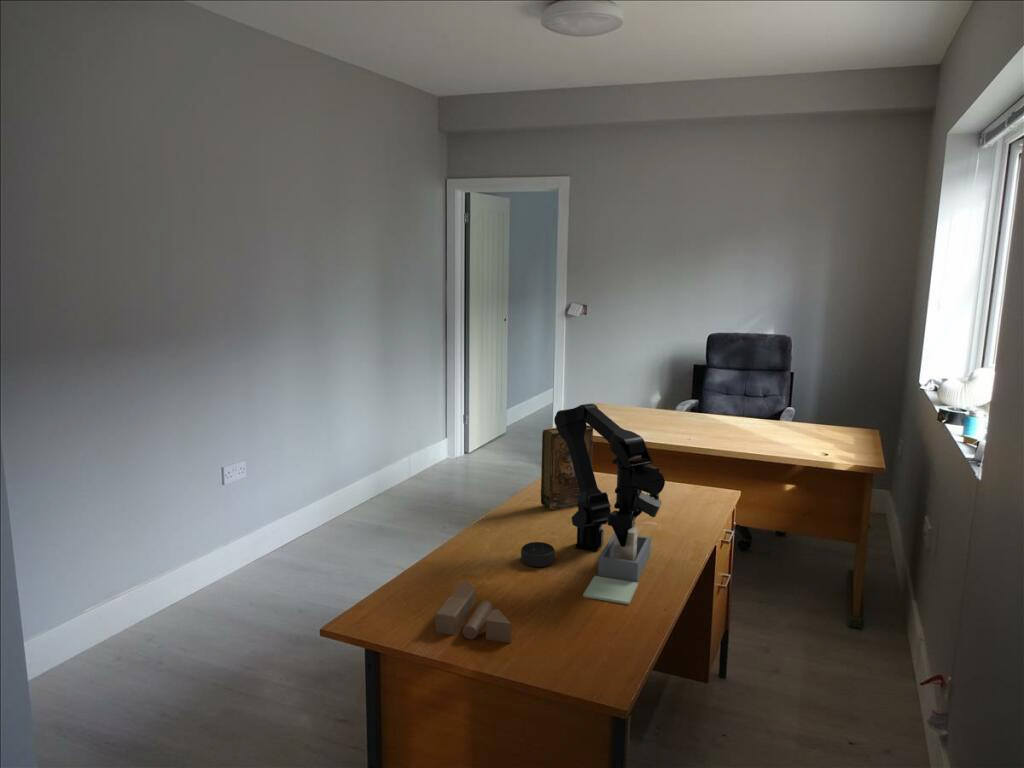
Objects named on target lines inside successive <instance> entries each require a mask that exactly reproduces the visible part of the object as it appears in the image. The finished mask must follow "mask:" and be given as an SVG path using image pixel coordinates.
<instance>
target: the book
mask: <svg viewBox="0 0 1024 768" xmlns="http://www.w3.org/2000/svg"><path fill="white" fill-rule="evenodd" d="M586 425H587V429H586V432H585V436H584V439H585V443H586V447H587V450H588V454H589V458H590V461H591V465H592V466H593V443H594V429H593V428H592V427H591V426H590V425H589V424H586ZM541 433H542V435H541V436H542V439H541V474H540V475H541V478H540V479H541V481H540V504H541V505H542V506H544V507H545V506H546V507H548V508H549V510H550V511H557V510H563V509H570V508H575V507H578V505H577V503H578V499H579V495H580V490H579V486H578V482H577V479H576V475H575V471H574V467H573V464H572V460H571V456H570V452H569V448H568V445H567V442H566V441H565V440H564V439H563V438H562V437H561V436H560V435H559V433H558V430H557V428H556V427H555V428H546V429H543V430H542V432H541Z"/></svg>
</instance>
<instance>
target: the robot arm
mask: <svg viewBox="0 0 1024 768" xmlns="http://www.w3.org/2000/svg"><path fill="white" fill-rule="evenodd" d="M553 419H554V424H555V425H554V426H556V427H555V428H557V430H558V433H559V435H560V436H561V437H562V438H563V439H564V440H565V441H566V442H567V445H568V448H569V452H570V456H571V460H572V464H573V467H574V471H575V475H576V479H577V482H578V486H579V490H580V495H579V499H578V503H577V505H578V506H577V509H578V510H577V511H576V512H575V513H574V514H573V515H571V522H572V523H571V524H572V526H574V527H576V531H577V532H576V544H575V545H574V548H576V549H581V550H587V551H593V552H598V551H599V549H600V548H601V547H602V546H603V545H604V537H605V536H604V534H605V533H604V529H602V527H603V525H607V526H610V527H612V529H613V531H614V532H615V534H616V536H617V539H618V541H619V543H620V545H621V546H622V547H625V545H626V541H627V536H628V532H629V529H631V528H632V527H633V526H635V525H636V520H637V517H638V516H640V515H641V514H642V512H643V513H644V514H646V515H648V516H649V517H652V518H655V517H657V514H658V512H659V510H660V507H661V505H662V500H661V499H660V493H661V492H662V491H663V490H664V488H665V484H666V480H665V477H664V475H663V473H661V472H660V467H658V466H654V465H653V464H654V462H653V460H652V455H651V454H650V452H649V450H648V447H647V445H646V442H645V440H644V438H643V437H642V436H641V435H639V434H638V433H636V432H634V431H633V430H632V431H631V430H627V429H624V428H622V427H620V425H618V424H617V423H615V421H613V420H612V419H611V418H610V417H609V416H608V415H606V414H605V413H604V412H603V411H602V410H600V409H599V408H598V406H597V404H595V403H592V402H591V403H586V404H584V403H583V404H580V405H578V406H576V407H573V408H568V409H562V410H557V412H556V413H555V415H554V418H553ZM587 425H588V426H591V427H592V428H593V431H595V432H596V433H598V434H599V435H600V436H601V437H602V438H604V439H605V441H607V442H608V444H609V449H610V451H611V452H612V453H613V454H614V456H615V457H616V458H615V459H612V461H611V463H612V464H614V465H616V466H617V472H616V473H617V475H616V477H617V478H616V487H615V488H614V494H616V496H615V497H616V498H615V501H616V502H615V503H614V504H613V506H614V507H613V508H614V510H611V507H612V505H611V504H610V500H609V496H608V494H607V492H605V491H604V492H602V491H601V490H600V489H599V487H598V484H597V481H596V477H595V473H594V470H593V464H592V465H591V461H590V458H589V454H588V450H587V447H586V443H585V439H584V436H585V432H586V429H587ZM636 458H637V459H636ZM644 492H645V493H644ZM615 509H616V510H615ZM617 509H618V510H617Z"/></svg>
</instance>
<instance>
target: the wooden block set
mask: <svg viewBox="0 0 1024 768" xmlns="http://www.w3.org/2000/svg"><path fill="white" fill-rule="evenodd" d="M476 590H477V589H476V588H475V586H473V585H472V584H471V583H470V582H466V581H465V582H463V581H462V582H461V583H459V585H458V587H457V588H456V589H455V591H453V593H452V595H451V596H450V595H449V596H448V598H447V599H446V600H445V601H444V603H443V604H442V605H441V606H440V608H439V609H437V610H438V611H436V613H435V616H434V617H435V622H434V624H435V633H438V634H445V635H453V636H455V635H457V633H458V631H459V630H460V628H461V627H462V626H463V625H464V623H465V621H466V620H467V618H468V616H469V613H470V612H471V610H472V609H473V607H474V606H475V604H476V602H477V600H476V598H477V597H476V596H477V595H476V594H477V593H476ZM471 614H472V615H470V617H469V619H468V620H467V622H466V623H465V625H464V626H463V629H462V635H463V636H464V638H465V639H468V640H474V639H476V638H477V636H478V635H479V634H480V631H481V630H482V628H483V627H484V625H485V640H489V641H496V642H503V643H510V644H512V623H511V622H510V620H508V618H507V617H506V616H505V615H504V614H503V613H502V612H501V610H500V609H494V608H493V605H492V602H490V601H487V600H483V601H482V600H481V602H480V603H479V604H478V605H477V607H476V609H475V610H474V611H473V613H471Z"/></svg>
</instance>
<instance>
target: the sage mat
mask: <svg viewBox="0 0 1024 768" xmlns="http://www.w3.org/2000/svg"><path fill="white" fill-rule="evenodd" d="M638 586H639V582H632V581H626V580H620V579H614V578H608V577H601V576H598V575H594V576H593V577H592V579H591V581H590V582H589V585H588V586H587V587H586V589H585V590H584V592H583V593H582V594H583V595H582V597H583V598H586V599H587V598H588V599H595V600H601V601H604V602H605V601H606V602H612V603H615V604H616V603H617V604H623V605H630V603H631V601H632V599H633V597H634V595H635V593H636V591H637V588H638Z"/></svg>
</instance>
